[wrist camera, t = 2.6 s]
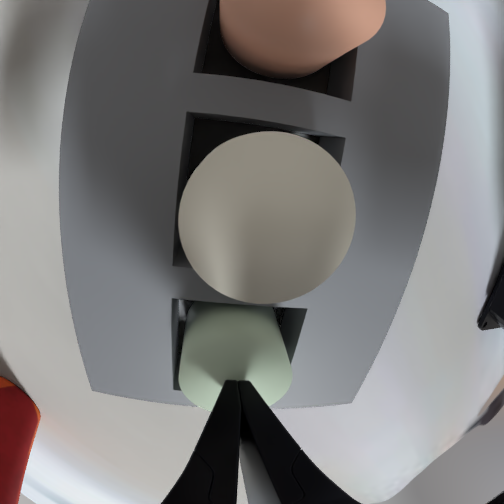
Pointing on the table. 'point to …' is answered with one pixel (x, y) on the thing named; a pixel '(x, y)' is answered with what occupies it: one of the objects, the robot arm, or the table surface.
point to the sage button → (232, 352)
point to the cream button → (266, 217)
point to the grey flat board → (175, 178)
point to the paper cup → (15, 438)
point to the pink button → (296, 32)
